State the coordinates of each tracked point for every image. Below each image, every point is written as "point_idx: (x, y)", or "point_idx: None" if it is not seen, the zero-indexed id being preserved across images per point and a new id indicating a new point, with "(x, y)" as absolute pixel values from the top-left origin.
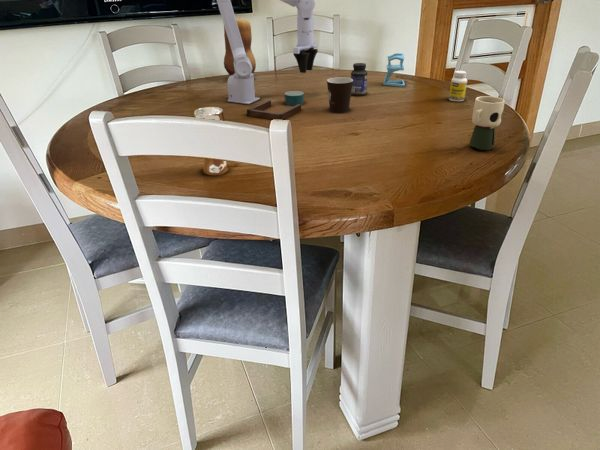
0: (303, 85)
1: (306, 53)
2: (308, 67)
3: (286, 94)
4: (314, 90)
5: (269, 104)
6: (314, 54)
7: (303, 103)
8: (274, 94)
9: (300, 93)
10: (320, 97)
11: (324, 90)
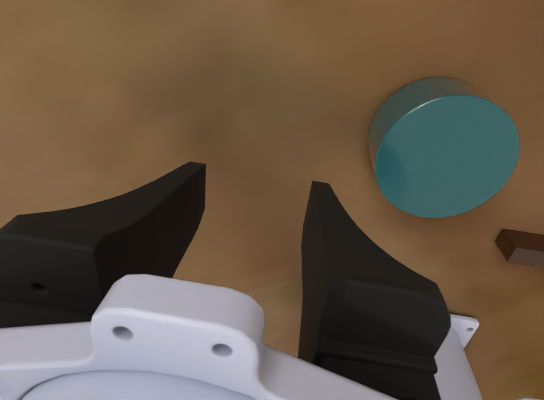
0: (58, 207)
1: (391, 313)
2: (197, 200)
3: (481, 197)
4: (115, 119)
5: (524, 238)
6: (122, 222)
7: (441, 77)
8: (276, 274)
9: (448, 120)
10: (255, 18)
11: (81, 57)
